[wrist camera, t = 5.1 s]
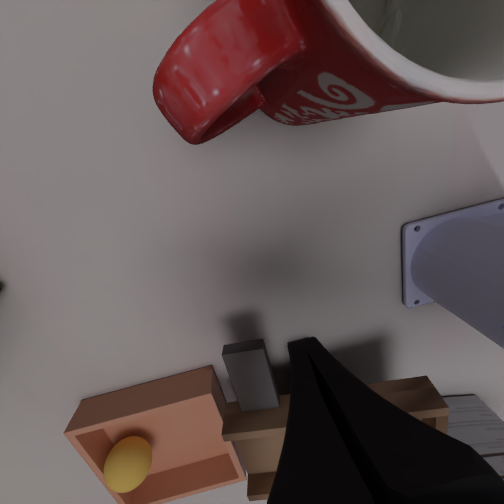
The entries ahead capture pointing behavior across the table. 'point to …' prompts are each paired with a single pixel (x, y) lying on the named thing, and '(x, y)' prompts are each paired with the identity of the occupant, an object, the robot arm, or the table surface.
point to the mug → (328, 60)
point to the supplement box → (477, 428)
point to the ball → (127, 464)
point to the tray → (162, 435)
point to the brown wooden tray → (277, 407)
